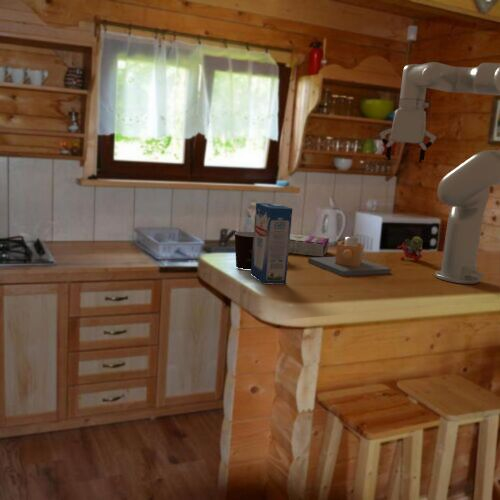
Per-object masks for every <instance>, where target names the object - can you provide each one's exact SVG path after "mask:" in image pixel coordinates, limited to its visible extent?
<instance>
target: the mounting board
mask: <svg viewBox="0 0 500 500" xmlns="http://www.w3.org/2000/svg"><path fill="white" fill-rule="evenodd" d="M335 260H336V256H327V257H326V256H323V257H318V256H315V257H308V259H307V263H308V264H311V265H313V266H316V267H318V268H320V269H323V270H326V271H328V272H331V273H333V274H335V275H338V276H341V277H353V276H356V277H357V276H368V275H369V276H372V275H388V274H389V275H390V274H391V272H392V268H389V267H387V266H384V265H381V264H378V263H376V262H373V261H370V260H367V259H364V258H362V263H361V265H360V266H359V267H356V266H349V265H342V264H335Z"/></svg>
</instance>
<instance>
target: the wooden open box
mask: <svg viewBox="0 0 500 500" xmlns="http://www.w3.org/2000/svg"><path fill="white" fill-rule="evenodd" d="M344 243H345V240H340V241H338V243H337V244H336V254H335V257H336V260H335V264H342V265H349V266H356V267H359V266H360V265H361V263H362V259H363V256H364V255H363V254H364V246H365V243H361V242H358V246H350V245H344Z"/></svg>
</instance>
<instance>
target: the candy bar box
mask: <svg viewBox="0 0 500 500" xmlns="http://www.w3.org/2000/svg"><path fill="white" fill-rule="evenodd" d="M329 242H330V238H328V237H320V236H319V237H318V236H310V235H302V234H294V233H290V242H289V253H288V254H294V255H295V254H296V255H297V254H298V255H304V256H312V257H325V255H326V254H327V252H328V250H329Z"/></svg>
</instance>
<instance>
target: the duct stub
mask: <svg viewBox="0 0 500 500" xmlns="http://www.w3.org/2000/svg"><path fill="white" fill-rule="evenodd" d="M344 241H345V243H344V245H350V246H358V243H359V237H356V236H350V235H349V236H348V235H347V236H346V235H345V237H344Z"/></svg>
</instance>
